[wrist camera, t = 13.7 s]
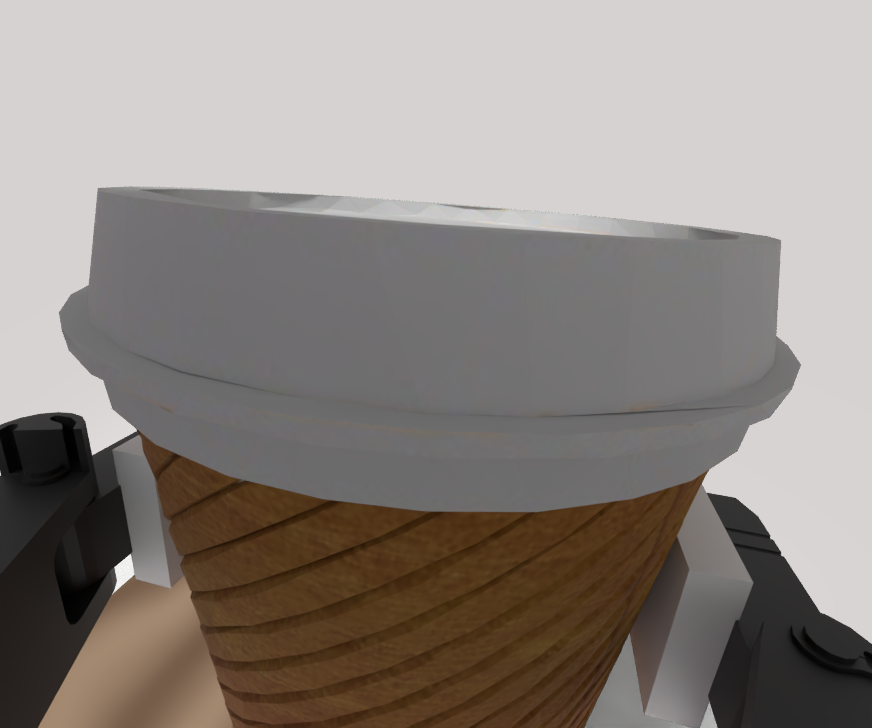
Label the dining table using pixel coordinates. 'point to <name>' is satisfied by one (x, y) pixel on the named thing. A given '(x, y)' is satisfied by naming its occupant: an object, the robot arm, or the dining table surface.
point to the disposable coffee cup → (422, 435)
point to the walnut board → (142, 667)
